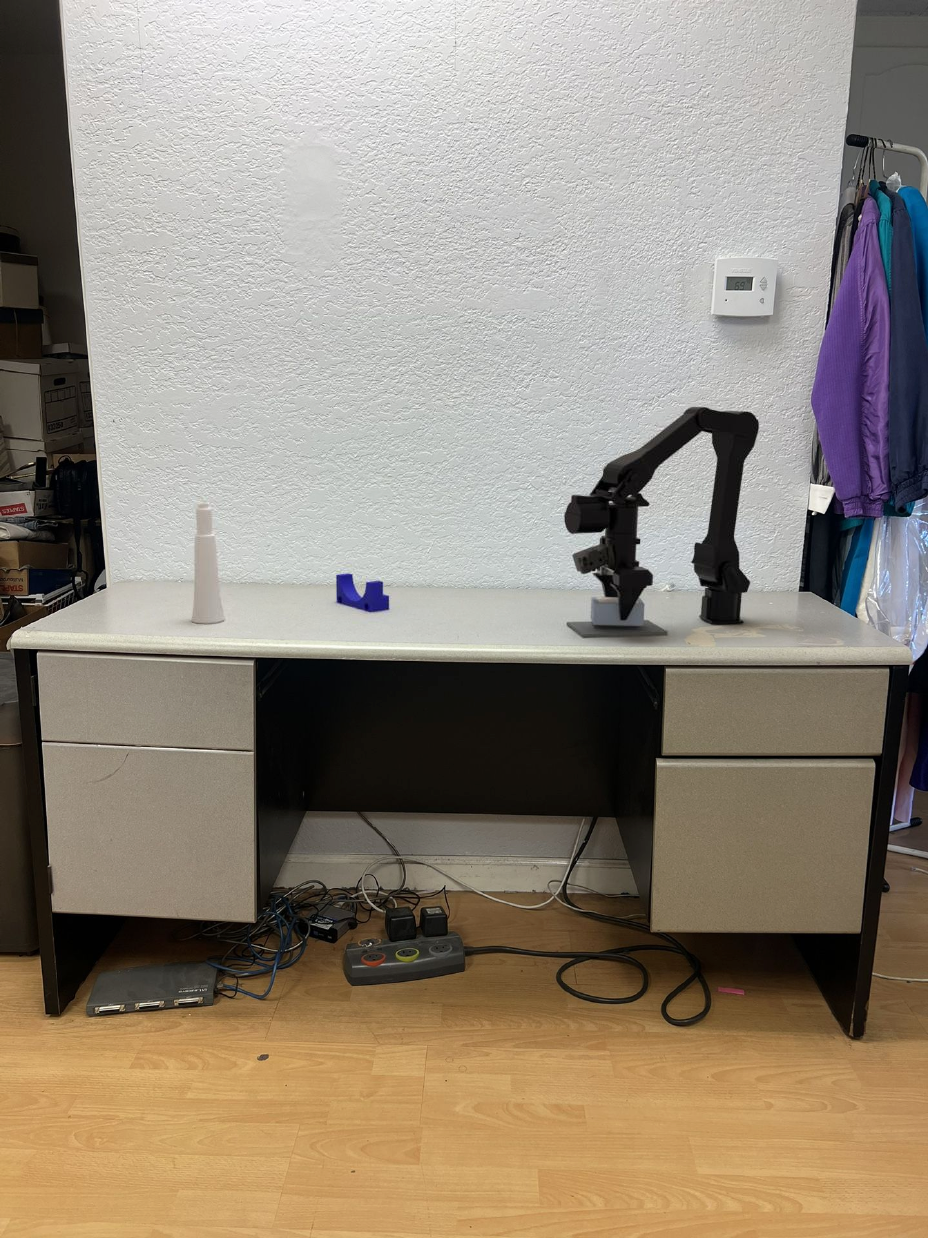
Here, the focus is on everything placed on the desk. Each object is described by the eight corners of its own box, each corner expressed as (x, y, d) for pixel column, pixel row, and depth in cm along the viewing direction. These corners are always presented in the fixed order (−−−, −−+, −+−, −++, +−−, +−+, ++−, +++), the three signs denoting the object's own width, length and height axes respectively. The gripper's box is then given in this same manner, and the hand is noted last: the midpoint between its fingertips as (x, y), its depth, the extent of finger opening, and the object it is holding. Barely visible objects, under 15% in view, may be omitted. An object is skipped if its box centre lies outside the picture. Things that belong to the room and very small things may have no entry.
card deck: (590, 617, 187) (591, 596, 186) (638, 618, 186) (639, 597, 185) (593, 624, 181) (594, 602, 180) (643, 625, 180) (644, 603, 180)
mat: (647, 622, 190) (647, 619, 190) (667, 634, 180) (667, 631, 180) (566, 625, 187) (566, 622, 187) (582, 637, 177) (582, 634, 177)
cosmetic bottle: (191, 624, 183) (186, 504, 178) (191, 617, 188) (186, 501, 184) (225, 623, 184) (221, 504, 180) (224, 616, 190) (219, 500, 185)
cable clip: (389, 610, 199) (389, 580, 197) (370, 613, 196) (370, 583, 195) (354, 601, 208) (354, 572, 206) (336, 603, 205) (336, 574, 203)
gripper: (563, 525, 187) (560, 607, 191) (594, 539, 169) (590, 628, 173) (620, 525, 189) (616, 605, 193) (656, 538, 171) (651, 627, 175)
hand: (617, 616), depth 183 cm, fingers closed on card deck, 6 cm apart
